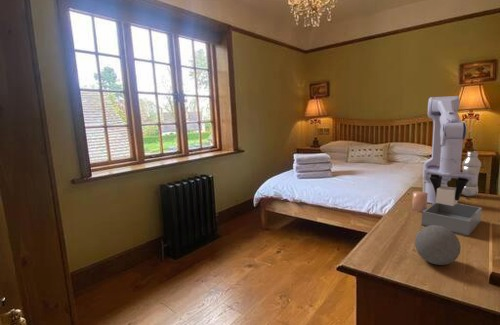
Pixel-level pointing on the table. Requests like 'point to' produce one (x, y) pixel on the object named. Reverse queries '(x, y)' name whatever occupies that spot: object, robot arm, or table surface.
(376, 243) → the table surface
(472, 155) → the plastic bottle
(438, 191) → the cube
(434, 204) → the box
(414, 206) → the brown egg
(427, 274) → the table surface
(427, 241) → the decorative ball
